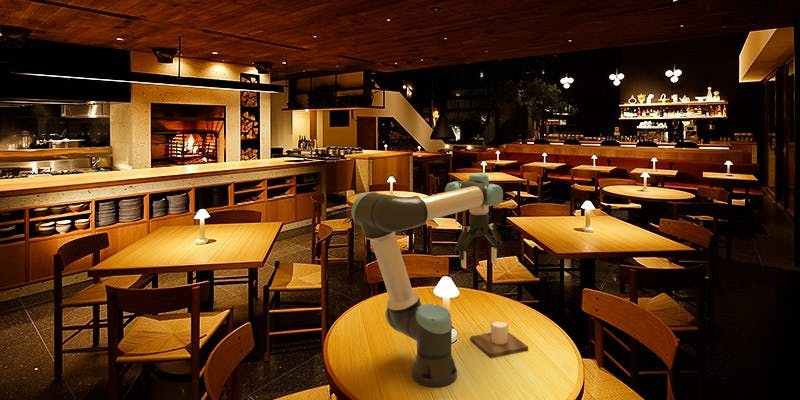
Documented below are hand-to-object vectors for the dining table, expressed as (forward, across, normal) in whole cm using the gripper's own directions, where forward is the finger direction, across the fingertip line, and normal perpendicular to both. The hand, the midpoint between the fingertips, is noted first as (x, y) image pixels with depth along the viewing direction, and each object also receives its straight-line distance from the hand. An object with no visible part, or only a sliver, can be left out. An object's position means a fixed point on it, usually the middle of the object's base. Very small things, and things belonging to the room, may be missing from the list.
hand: (479, 265), depth 187 cm
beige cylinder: (+27, +2, -12) cm, 30 cm away
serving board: (+29, +2, -12) cm, 31 cm away
